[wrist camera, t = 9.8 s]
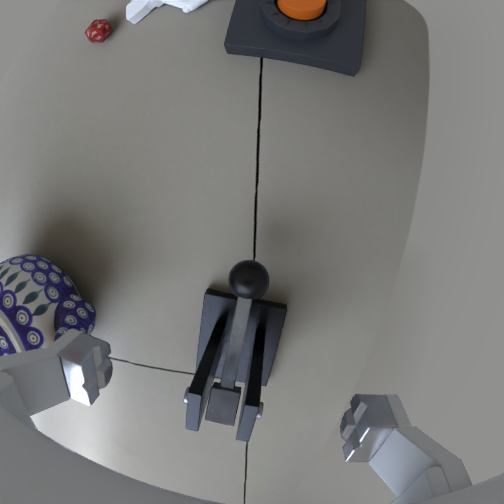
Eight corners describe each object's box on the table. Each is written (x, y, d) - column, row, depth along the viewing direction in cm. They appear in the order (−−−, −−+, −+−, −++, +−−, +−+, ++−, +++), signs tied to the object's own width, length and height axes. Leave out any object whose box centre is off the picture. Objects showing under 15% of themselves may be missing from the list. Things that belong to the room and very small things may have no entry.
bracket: (207, 288, 29) (167, 356, 17) (286, 304, 28) (291, 381, 17) (198, 365, 31) (167, 442, 20) (266, 380, 31) (260, 461, 20)
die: (91, 38, 22) (77, 29, 19) (110, 20, 22) (98, 11, 19) (99, 50, 23) (85, 42, 20) (120, 33, 22) (107, 23, 19)
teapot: (23, 340, 34) (-32, 386, 20) (-3, 251, 30) (-74, 282, 16) (149, 359, 32) (93, 447, 17) (121, 236, 28) (19, 287, 14)
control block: (361, 2, 19) (370, -17, 16) (354, 76, 22) (365, 62, 18) (246, -18, 20) (242, -39, 16) (227, 54, 22) (219, 36, 19)
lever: (233, 261, 25) (232, 251, 22) (271, 268, 25) (274, 260, 22) (203, 409, 21) (197, 420, 18) (240, 417, 21) (240, 429, 18)
